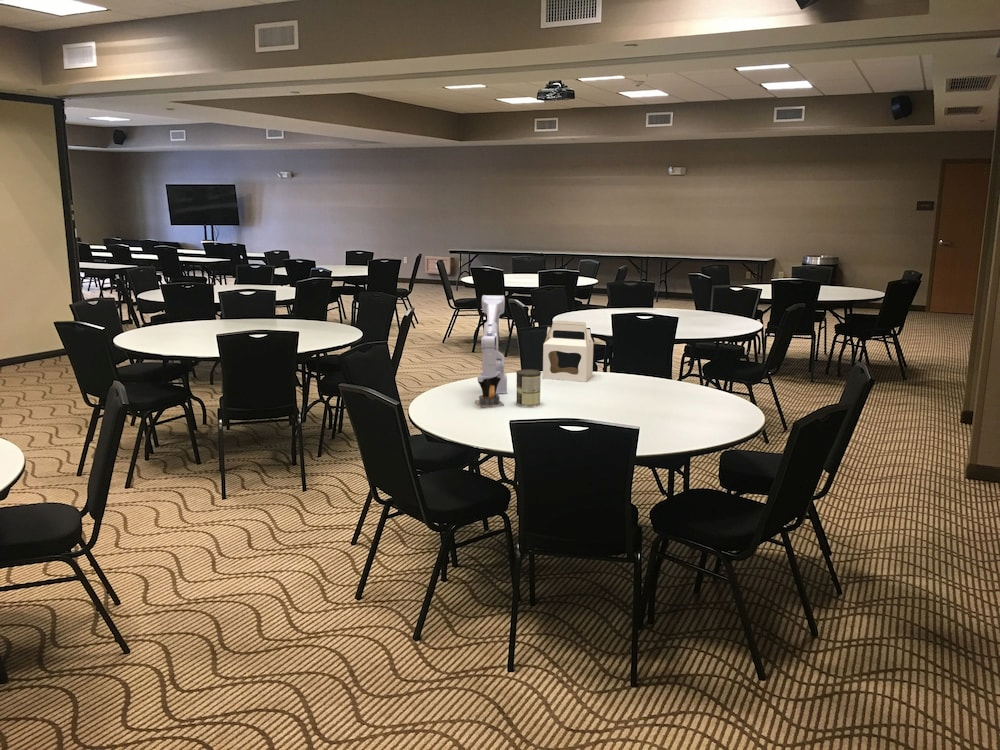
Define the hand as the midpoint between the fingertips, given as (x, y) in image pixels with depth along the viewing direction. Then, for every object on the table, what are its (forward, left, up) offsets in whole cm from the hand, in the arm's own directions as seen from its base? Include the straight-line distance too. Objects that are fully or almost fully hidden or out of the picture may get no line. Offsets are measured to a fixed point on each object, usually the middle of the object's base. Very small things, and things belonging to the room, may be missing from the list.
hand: (489, 395), depth 323 cm
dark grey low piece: (0, 0, -4) cm, 4 cm away
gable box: (-52, -42, -4) cm, 67 cm away
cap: (0, 0, -2) cm, 2 cm away
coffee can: (-16, +4, -4) cm, 17 cm away
